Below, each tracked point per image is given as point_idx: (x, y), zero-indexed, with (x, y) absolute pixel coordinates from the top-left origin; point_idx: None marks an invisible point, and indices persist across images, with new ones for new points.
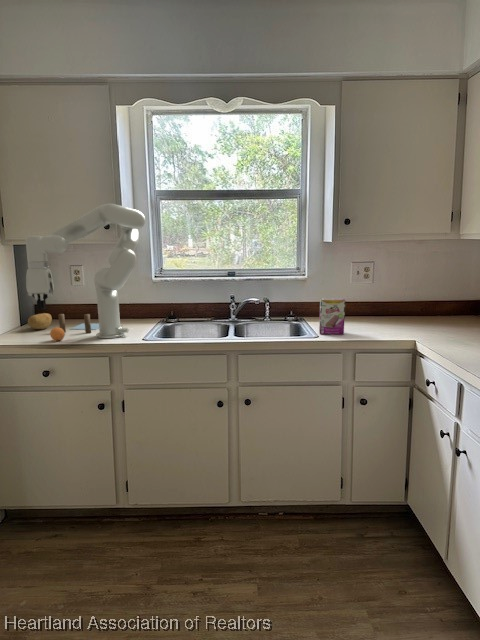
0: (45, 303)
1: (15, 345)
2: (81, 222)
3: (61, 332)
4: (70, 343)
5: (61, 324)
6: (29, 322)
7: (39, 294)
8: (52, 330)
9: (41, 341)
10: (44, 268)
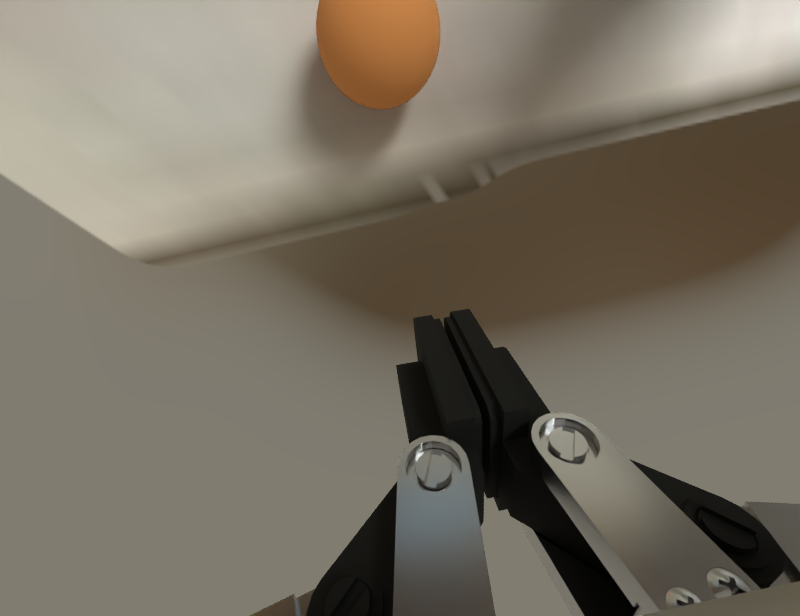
0: (529, 386)
1: (200, 251)
2: None
3: (436, 55)
4: (514, 123)
5: None
6: None
7: (479, 607)
8: (365, 85)
9: (271, 110)
10: None
